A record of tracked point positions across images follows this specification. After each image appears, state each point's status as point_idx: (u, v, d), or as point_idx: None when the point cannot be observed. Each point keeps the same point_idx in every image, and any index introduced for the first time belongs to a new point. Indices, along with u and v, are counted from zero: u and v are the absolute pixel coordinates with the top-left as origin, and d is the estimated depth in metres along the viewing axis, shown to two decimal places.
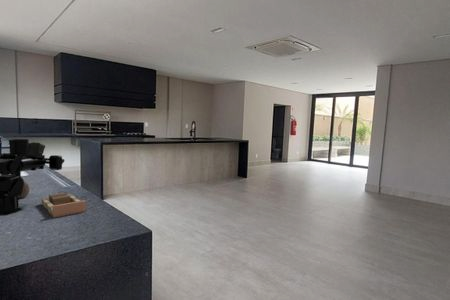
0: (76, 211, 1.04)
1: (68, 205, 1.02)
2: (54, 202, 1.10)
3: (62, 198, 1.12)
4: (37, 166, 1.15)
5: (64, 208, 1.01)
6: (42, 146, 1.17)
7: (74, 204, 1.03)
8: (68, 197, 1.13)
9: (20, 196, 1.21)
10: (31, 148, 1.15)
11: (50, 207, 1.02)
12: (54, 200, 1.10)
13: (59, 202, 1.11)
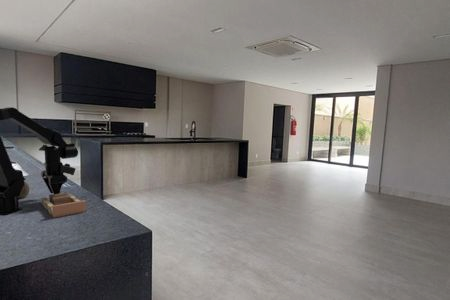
0: (76, 211, 1.04)
1: (68, 205, 1.02)
2: (54, 202, 1.09)
3: (63, 198, 1.11)
4: (50, 167, 1.17)
5: (64, 208, 1.01)
6: (72, 171, 1.23)
7: (74, 204, 1.03)
8: (69, 197, 1.13)
9: (20, 196, 1.21)
10: (67, 166, 1.24)
11: (50, 207, 1.02)
12: (54, 200, 1.09)
13: (59, 202, 1.11)
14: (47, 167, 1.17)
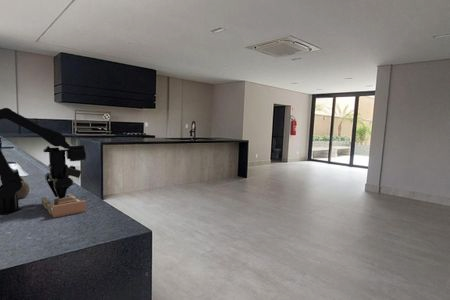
0: (76, 211, 1.04)
1: (68, 205, 1.02)
2: None
3: None
4: (55, 170, 1.11)
5: (64, 208, 1.01)
6: (78, 174, 1.17)
7: (74, 204, 1.03)
8: None
9: (20, 196, 1.21)
10: (73, 168, 1.18)
11: (50, 207, 1.02)
12: None
13: None
14: (52, 170, 1.11)
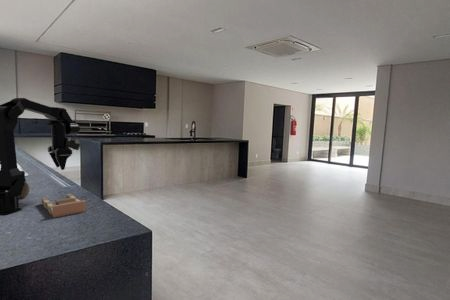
0: (76, 211, 1.04)
1: (68, 205, 1.02)
2: None
3: None
4: (57, 141, 1.24)
5: (64, 208, 1.01)
6: (77, 146, 1.30)
7: (74, 204, 1.03)
8: None
9: (20, 196, 1.21)
10: (72, 142, 1.32)
11: (50, 207, 1.02)
12: None
13: None
14: (53, 141, 1.24)
